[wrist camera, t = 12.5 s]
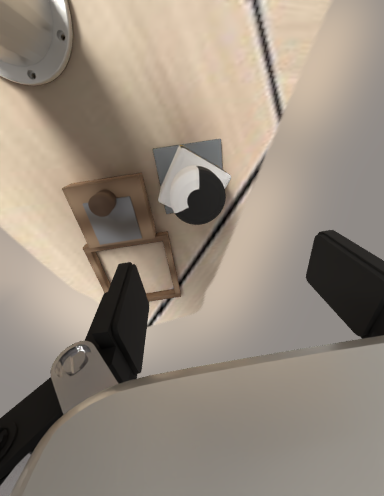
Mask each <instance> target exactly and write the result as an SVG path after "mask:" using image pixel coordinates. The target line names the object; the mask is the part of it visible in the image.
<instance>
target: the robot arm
mask: <svg viewBox="0 0 384 496" xmlns="http://www.w3.org/2000/svg"><path fill="white" fill-rule="evenodd" d="M63 36H65V40H64V41H63ZM72 38H73V30H72V20H71V14H70V10H69V6H68V2H67V0H0V76H1V77H3V78H5V79H8V80H10V81H13V82H16V83H19V84H24V85H31V86H34V85H43V84H46V83H48V82H51V81H52V80H54V79H55V78H57V77H58V76H59V75H60V74H61V72H62V71H63V70H64V69H65V67H66V65H67V62H68V60H69V58H70V53H71V49H72ZM34 75H36V78H34ZM306 279H307V281H308V283H309V284H310V285H311V286H312V287H313V288H314V289H315V290H316V291H317V292H318V294H319V295H320V296H321V297H322V298H323V299H324V300H325V301H326V302H327V304H329V306H330V307H331V308H332V309H333V310H334V311H335V312H336V313H337V315H338V316H339V317H340V318H341V319H342V320H343V321H344V322H345V323H346V324H347V326H348V327H349V328H350V329H351V330H352V331H353V332H354V333H355V334H356V335H358V336H360V337H361V338H362V339H358V340H352V341H346V342H340V343H333V344H328V345H322V346H316V347H309V348H304V349H297V350H291V351H286V352H279V353H274V354H267V355H261V356H256V357H250V358H244V359H238V360H232V361H227V362H221V363H215V364H209V365H204V366H198V367H192V368H187V369H182V370H176V371H171V372H166V373H160V374H155V375H150V376H146V377H142V378H138V379H137V374H138V373H140V372H141V369H142V362H143V353H144V345H145V337H146V329H147V321H148V313H149V302H148V299H147V296H146V293H145V290H144V287H143V284H142V281H141V278H140V276H139V273H138V270H137V267H136V265H135V264H133V265H132V263H131V262H128V263H122V264H119V265H118V267H117V270H116V272H115V275H114V277H113V280H112V282H111V285H110V288H109V290H108V292H106V293H104V295H103V297H102V300H101V302H100V304H99V307H98V309H97V312H96V314H95V317H94V319H93V322H92V324H91V327H90V329H89V331H88V334H87V336H86V339H85V341H80V342H77V343H74V344H72V345H71V346H69V347H67V348H66V349H65V350H64V351H62V352H61V353H60V355H59V356H58V357H57V358H56V360H55V361H54V363H53V365H52V368H51V371H50V373H51V377H50V378H49V379H48V380H47V381H46V382H44V383H43V384H42V385H41V386H39V387H38V388H37V389H36V390H34V392H32V393H31V394H30V395H28V396H27V397H26V398H25V399H23V400H22V401H21V402H20V403H18V404H17V405H16V406H15V407H14V408H12V409H11V410H10V411H9V412H8V413H6V414H5V415H4V416H3V417H1V418H0V496H384V261H383V260H382V259H380V258H378V257H377V256H375V255H373V254H372V253H370V252H368V251H367V250H365V249H363V248H362V247H360V246H359V245H357V244H355V243H354V242H352V241H350V240H349V239H347V238H345V237H344V236H342V235H340V234H339V233H337V232H335V231H334V230H328V231H322V232H319V233H318V235H316V236H315V239H314V243H313V248H312V252H311V256H310V260H309V265H308V269H307V274H306Z"/></svg>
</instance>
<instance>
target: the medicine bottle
mask: <svg viewBox="0 0 384 496" xmlns="http://www.w3.org/2000/svg"><path fill="white" fill-rule="evenodd" d="M230 179H231V175H230V174H228V173H227V172H225V171H224V170H223V169H221V168H220V167H218V166H217V165H215V164H213V163H212V162H210V161H208V160H207V159H205V158H203V157H201V156H200V155H198V154H196V153H195V152H193V151H191V150H189V149H188V148H186V147H184V146H183V145H179V147H178V149H177V151H176V154H175V156H174V158H173V160H172V163H171V165H170V167H169V169H168V172H167V174H166V176H165V179H164V181H163V183H162V185H161V188H160V193H159V198H158V201H159V202H160V203H162V204H164V205H166V206H168V207H170V208H172V209H173V211H174V213H175V214H176V215H177V217H178V218H180V219H181V220H182V221H184V222H186V223H189V224H194V225H200V224H205V223H208V222H210V221H212V220H213V219H214V218H216V217H217V216H218V215H219V213H220V212H221V210H222V209H223V206H224V203H225V198H226V194H225V188H226V186H227V185H228V183H229V181H230Z"/></svg>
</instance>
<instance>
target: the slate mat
mask: <svg viewBox="0 0 384 496" xmlns="http://www.w3.org/2000/svg"><path fill="white" fill-rule="evenodd" d="M182 145H183V146H184V147H186V148H188V149H189V150H191V151H193V152H195V153H196V154H198V155H200V156H201V157H203V158H205V159H207V160H208V161H210V162H212V163H213V164H215V165H217V166H218V167H220V168H221V169H222V152H221V139H215V140H209V141H202V142H196V143H189V144H182ZM178 147H179V145H176V146H169V147H163V148H156V149H153V152H154V157H155V162H156V167H157V172H158V176H159V181H160V186H161V185H162V183H163V181H164V179H165V176H166V174H167V172H168V169H169V167H170V165H171V163H172V160H173V158H174V156H175V154H176V151H177V149H178ZM165 210H166V214H169V213H174V211H173V209H172V208H170V207H168V206H166V205H165Z"/></svg>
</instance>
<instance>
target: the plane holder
mask: <svg viewBox="0 0 384 496" xmlns="http://www.w3.org/2000/svg"><path fill="white" fill-rule="evenodd" d="M62 190H63V192H64V194H65V196H66V199H67V201H68V203H69V205H70V207H71V209H72V211H73V214H74V216H75V218H76V220H77V222H78V224H79V226H80V228H81V231H82V233H83V235H84V237H85V239H86V241H87V243H88V244H86V245H85V246H84V247H83V250H84V252H85V254H86V256H87V258H88V260H89V262H90V264H91V266H92V268H93V270H94V272H95V274H96V276H97V278H98V280H99V282H100V284H101V286H102V289H103V291H104V293H106V292H108V290H109V288H110V283H109V281H108V278H107V276H106V274H105V272H104V270H103V267H102V265H101V263H100V261H99V259H98V256H97V254H96V252H95V251H101V250H107V249H114V248H120V247H126V246H133V245H139V244H146V243H152V242H158V241H163V244H164V248H165V252H166V256H167V260H168V265H169V269H170V273H171V277H172V282H173V286H174V289H172V290H166V291H159V292H153V293H147V294H146V296H147V299H148V302H149V301H155V300H162V299H168V298H174V297H181V291H180V287H179V282H178V278H177V273H176V268H175V264H174V259H173V254H172V250H171V245H170V241H169V236H168V231H166V232H160V233H156V228H155V224H154V220H153V216H152V212H151V208H150V204H149V200H148V196H147V192H146V188H145V184H144V180H143V176H142V173H137V174H131V175H124V176H118V177H111V178H105V179H98V180H92V181H85V182H79V183H72V184H70V185H68V186H66V187H64V188H62Z"/></svg>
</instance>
